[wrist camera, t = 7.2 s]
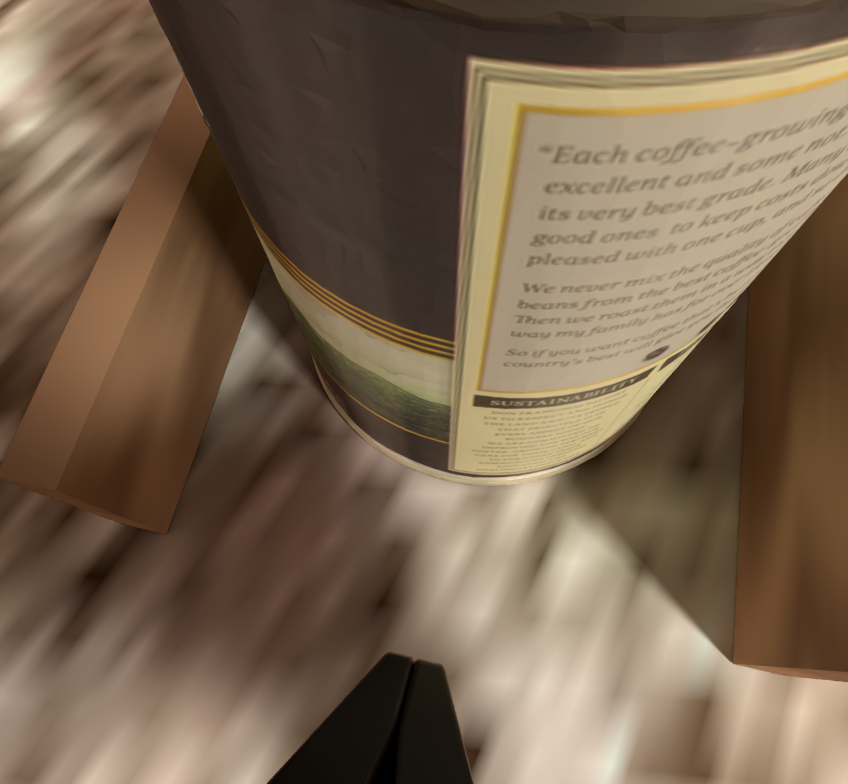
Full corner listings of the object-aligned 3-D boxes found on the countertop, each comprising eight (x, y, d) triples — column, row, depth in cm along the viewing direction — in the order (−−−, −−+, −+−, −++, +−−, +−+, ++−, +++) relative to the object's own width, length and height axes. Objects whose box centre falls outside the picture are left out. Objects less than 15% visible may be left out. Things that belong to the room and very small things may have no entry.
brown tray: (786, 676, 15) (947, 692, 10) (122, 524, 16) (-5, 476, 12) (793, 175, 20) (902, 30, 15) (287, 98, 21) (244, -53, 17)
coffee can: (259, 444, 17) (-356, -219, 4) (361, 145, 21) (219, -722, 8) (650, 532, 16) (1628, 18, 3) (685, 200, 20) (1183, -705, 6)
